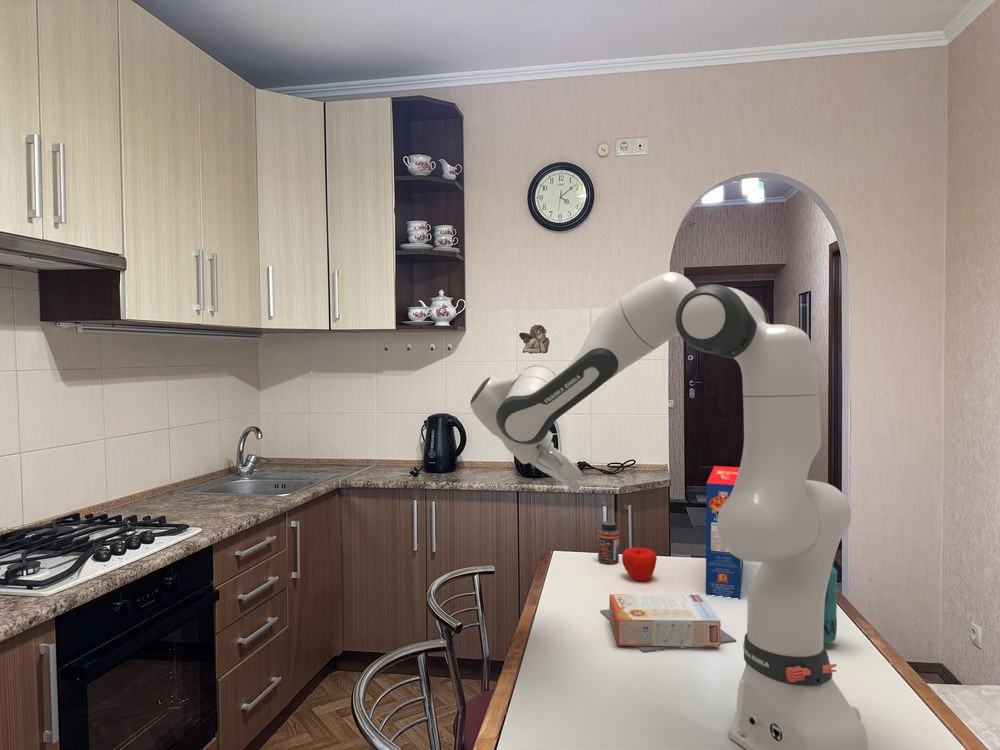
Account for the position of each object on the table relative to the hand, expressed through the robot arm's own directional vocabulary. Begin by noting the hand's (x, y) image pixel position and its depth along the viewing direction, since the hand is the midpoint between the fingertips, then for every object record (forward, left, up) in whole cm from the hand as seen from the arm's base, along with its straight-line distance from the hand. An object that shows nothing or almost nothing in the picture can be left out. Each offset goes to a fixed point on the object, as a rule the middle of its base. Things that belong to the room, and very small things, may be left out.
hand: (576, 487), depth 140 cm
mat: (0, -20, -31) cm, 37 cm away
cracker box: (-1, -8, -28) cm, 29 cm away
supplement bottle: (+46, -27, -32) cm, 62 cm away
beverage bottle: (-16, -47, -32) cm, 59 cm away
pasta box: (+24, -51, -32) cm, 65 cm away
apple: (+30, -29, -32) cm, 52 cm away
